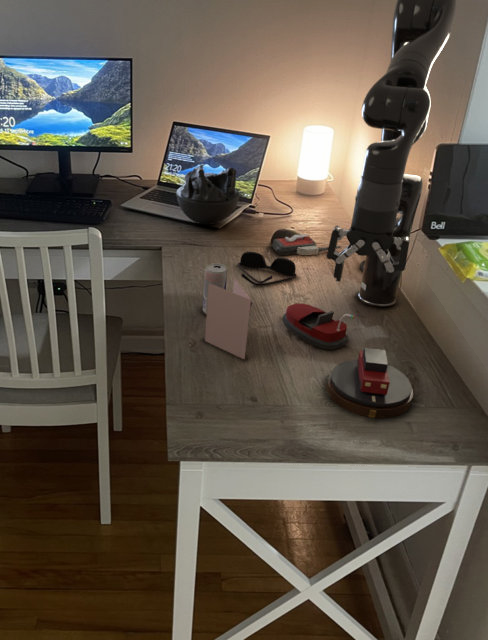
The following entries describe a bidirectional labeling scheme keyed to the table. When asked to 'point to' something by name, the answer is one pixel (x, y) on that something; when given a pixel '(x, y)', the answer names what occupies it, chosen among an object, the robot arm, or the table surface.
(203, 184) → the bowl of black rocks
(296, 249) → the walkie-talkie
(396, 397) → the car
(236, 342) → the greeting card
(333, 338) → the bumper car
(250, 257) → the sunglasses
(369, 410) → the stand
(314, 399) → the table surface
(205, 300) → the energy drink
